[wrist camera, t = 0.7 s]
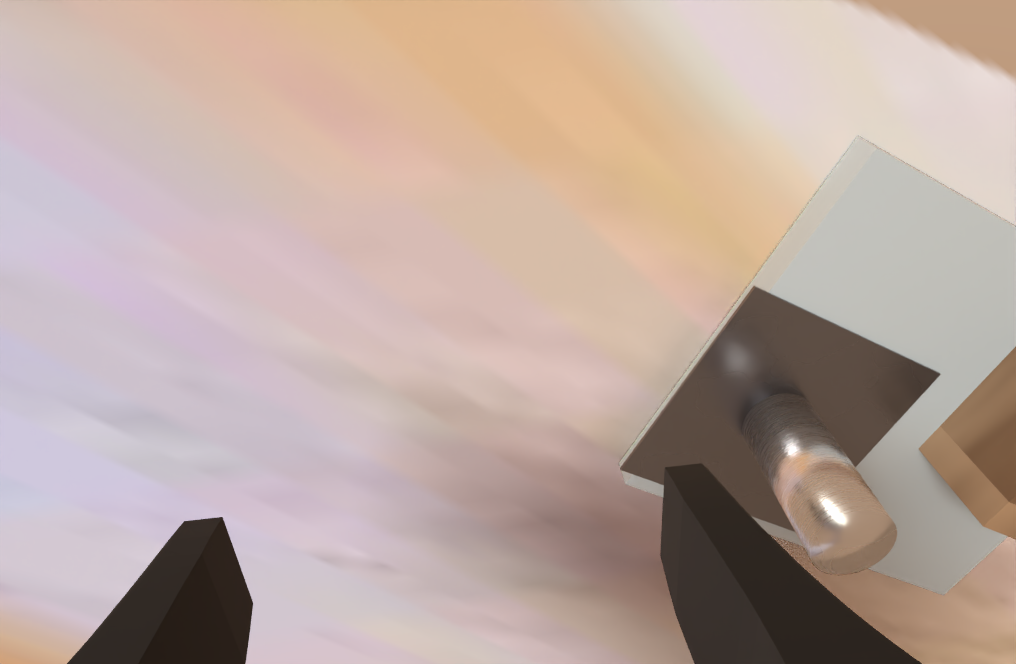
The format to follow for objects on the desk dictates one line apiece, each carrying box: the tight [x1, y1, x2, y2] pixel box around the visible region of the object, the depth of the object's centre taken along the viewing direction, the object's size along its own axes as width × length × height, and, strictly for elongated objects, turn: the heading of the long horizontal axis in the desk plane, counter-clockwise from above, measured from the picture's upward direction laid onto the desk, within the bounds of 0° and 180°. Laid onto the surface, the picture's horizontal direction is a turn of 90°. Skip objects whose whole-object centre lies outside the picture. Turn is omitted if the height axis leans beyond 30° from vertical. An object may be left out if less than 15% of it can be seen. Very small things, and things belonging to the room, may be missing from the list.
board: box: [619, 136, 1016, 595], centre depth 24 cm, size 14×12×1 cm
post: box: [620, 286, 941, 575], centre depth 22 cm, size 7×7×5 cm
